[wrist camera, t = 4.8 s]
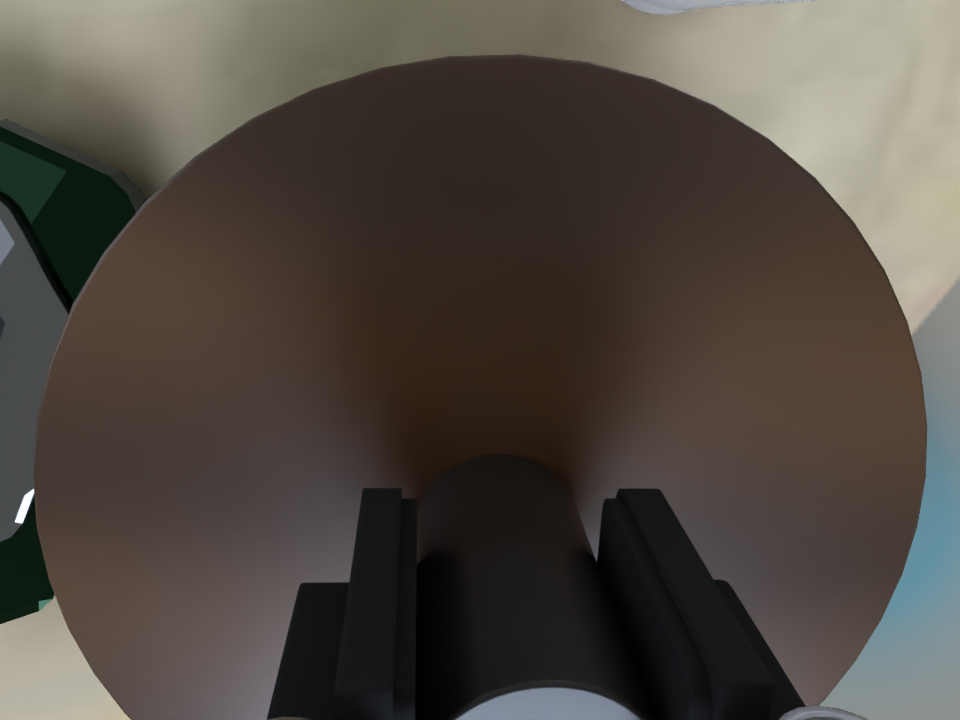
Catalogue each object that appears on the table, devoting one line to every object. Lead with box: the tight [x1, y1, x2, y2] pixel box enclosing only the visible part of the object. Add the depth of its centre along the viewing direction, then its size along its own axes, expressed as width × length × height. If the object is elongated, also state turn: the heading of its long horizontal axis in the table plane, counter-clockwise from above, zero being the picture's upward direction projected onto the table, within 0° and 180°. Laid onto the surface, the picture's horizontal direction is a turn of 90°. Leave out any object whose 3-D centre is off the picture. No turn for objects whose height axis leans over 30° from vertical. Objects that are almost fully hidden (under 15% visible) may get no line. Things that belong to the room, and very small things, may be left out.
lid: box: [33, 55, 927, 720], centre depth 11 cm, size 14×14×6 cm
